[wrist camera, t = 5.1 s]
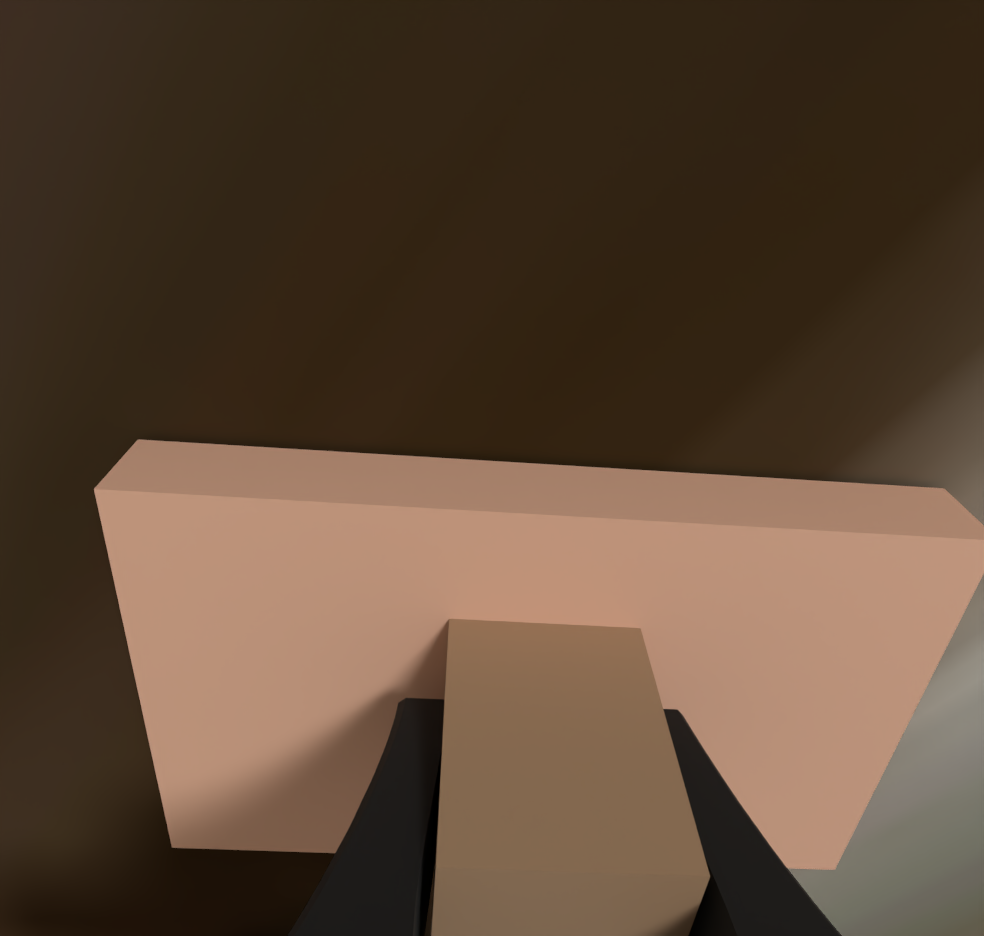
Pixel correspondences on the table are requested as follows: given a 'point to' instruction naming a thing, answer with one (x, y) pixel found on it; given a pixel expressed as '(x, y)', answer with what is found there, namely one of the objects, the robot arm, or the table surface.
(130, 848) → the table surface
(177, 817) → the pink panel with block
